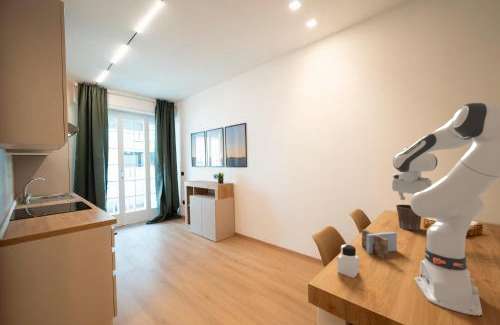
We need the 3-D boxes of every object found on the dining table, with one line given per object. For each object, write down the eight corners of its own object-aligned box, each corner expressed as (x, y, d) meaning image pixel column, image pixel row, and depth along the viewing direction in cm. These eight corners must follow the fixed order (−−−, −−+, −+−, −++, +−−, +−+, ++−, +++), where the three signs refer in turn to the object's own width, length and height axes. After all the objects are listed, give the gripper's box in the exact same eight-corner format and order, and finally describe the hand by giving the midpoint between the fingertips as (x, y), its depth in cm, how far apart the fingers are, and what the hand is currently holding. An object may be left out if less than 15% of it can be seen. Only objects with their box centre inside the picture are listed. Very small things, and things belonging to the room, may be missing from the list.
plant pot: (390, 226, 158) (390, 205, 158) (403, 223, 165) (403, 203, 165) (415, 233, 144) (415, 210, 144) (428, 230, 151) (428, 207, 150)
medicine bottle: (359, 272, 95) (359, 245, 95) (354, 278, 90) (354, 250, 90) (342, 266, 100) (342, 241, 100) (337, 272, 95) (337, 246, 94)
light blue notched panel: (369, 253, 113) (369, 235, 113) (366, 252, 115) (366, 234, 115) (396, 250, 117) (396, 232, 117) (393, 249, 119) (393, 231, 119)
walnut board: (387, 258, 107) (388, 239, 107) (384, 259, 107) (384, 239, 107) (364, 246, 123) (364, 229, 123) (361, 246, 123) (361, 229, 123)
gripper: (436, 178, 105) (435, 205, 106) (398, 175, 125) (398, 198, 126) (426, 178, 104) (426, 205, 104) (390, 175, 124) (390, 198, 124)
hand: (410, 201), depth 115 cm, fingers open, 8 cm apart
